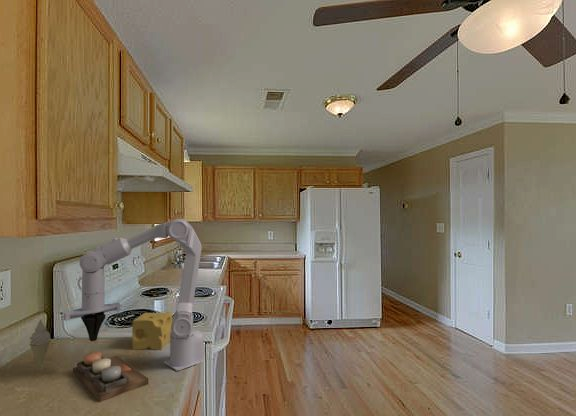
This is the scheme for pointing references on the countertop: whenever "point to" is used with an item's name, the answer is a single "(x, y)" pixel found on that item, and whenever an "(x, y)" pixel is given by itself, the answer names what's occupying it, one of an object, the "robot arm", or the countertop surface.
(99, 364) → the cream button
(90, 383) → the button panel
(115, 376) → the slate button
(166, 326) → the cheese
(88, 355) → the terracotta button
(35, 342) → the ice cream cone
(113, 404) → the countertop surface
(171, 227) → the robot arm
